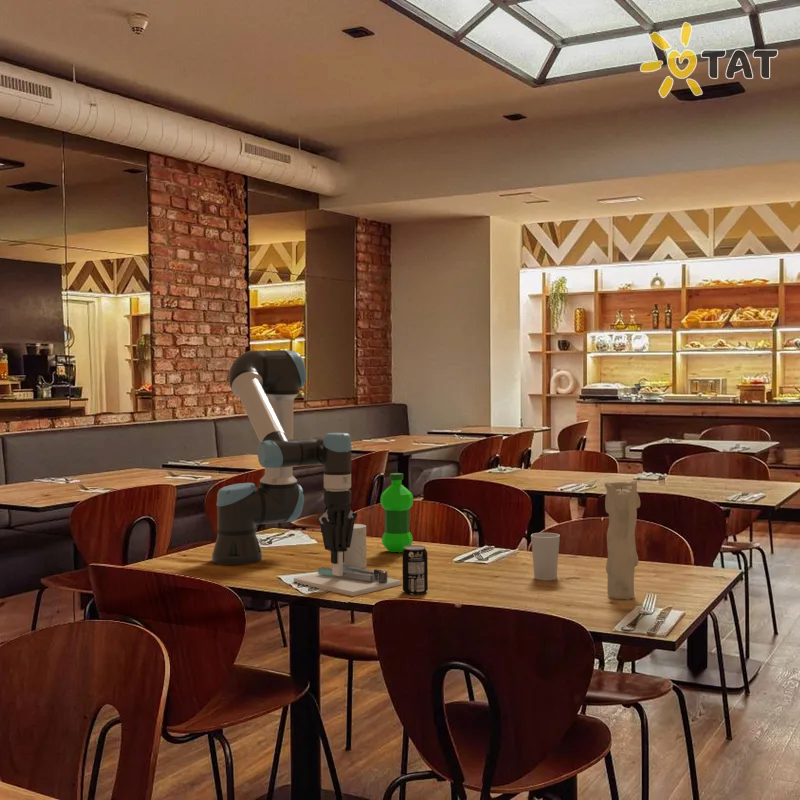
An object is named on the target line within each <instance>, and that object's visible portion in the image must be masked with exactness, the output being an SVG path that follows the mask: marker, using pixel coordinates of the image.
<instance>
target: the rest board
mask: <svg viewBox="0 0 800 800" xmlns="http://www.w3.org/2000/svg"><path fill="white" fill-rule="evenodd" d="M294 582H297V583H296V584H298V583H300V584H299V585H302V584H304V585H303V586H306V585H308V586H307V587H310V586H313V587H312V588H315V587H316V589H321V590H325V591H329V592H333V593H336V594H341V595H346V596H350V597H355V596H356V597H357V596H360V595H364V594H369V593H372V592H377V591H382V590H385V589H389V588H393V587H398V586H401V585H402V579H401V580H400V579H398V578H397V579H396V578H392V577H388V582H387V583H379V581H377V580H374V581H371V582H369V581H362V580H355V579H348V578H341V577H334V576H327V575H320V574H318V572H317V573H313V574H308V575H303V576H298V577H293V583H294Z"/></svg>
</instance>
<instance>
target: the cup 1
mask: <svg viewBox="0 0 800 800" xmlns="http://www.w3.org/2000/svg"><path fill="white" fill-rule="evenodd" d="M346 549H347V551H344V562H343V565H348V566H352V567H357V568H362V569H366V567H367V563H368V562H367V525H365V524H362V523H354V528H353V533H352V539H351V545H350V548H346Z"/></svg>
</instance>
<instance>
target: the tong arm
mask: <svg viewBox="0 0 800 800" xmlns="http://www.w3.org/2000/svg"><path fill="white" fill-rule="evenodd" d="M317 573H318V574H320V575H327V576H334V577H341V578H348V579H355V580H362V581H369V582H371V581H374V574H367V573H359V572H352V571H345V570H343V575H342V576H336V575H332V568H330V567H319V568H318V570H317Z"/></svg>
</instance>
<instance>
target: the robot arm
mask: <svg viewBox="0 0 800 800" xmlns="http://www.w3.org/2000/svg"><path fill="white" fill-rule="evenodd" d="M306 370H307V369H306V365H305V361H304V359H303V357H302V355H300V353H299V352H297V351H295V350H285V349H278V350H277V349H275V350H274V349H273V350H255V349H254V350H248V351H246V352H243V353H242V354H240V355H239V356H237V357H236V358H235V359H234V361H232V364H231V367H230V369H229V371H228V384H229V387H230V389H231V391H232V394H233V395H234V396H235V397H237V398H239V400H240V402H241V404H242V407H243V409H244V411H245V414H246V415H247V417H248V419H249V421H250V423H251V426H252V427H253V431H254V432H255V434H256V437H257V438H258V440H259V444H258V446H257V451H256V455H257V457H258V460H257V461H258V463H259V465H260V466H261V467H262V468H264V475H263V476H262V477H261V478H260V480H259V486H256V484H255V483H254V482H244V483H242V482H241V483H233V484H230V485H226V486H223V487H221V488H219V490H217V494H216V496H217V497H216V504H215V505H216V518H217V519H216V520H217V522H216V523H217V526H216V527H217V537H216V540H215V544H214V548H213V551H212V554H211V558H212V559H211V560H212V563H214V564H217V565H223V566H225V565H227V566H236V565H237V566H238V565H249V564H255V563H259V562H260V561H262V560H263V552H262V550H261V546H260V543H259V540H258V537H257V533H256V529H257V528H256V527H257V525H266V524H267V525H268V524H276V523H277V524H278V523H281V524H284V523H285V524H286V523H288V522H293V521H296V520H297V519H298V518H299V517H300V515H301V514H302V512H303V508H304V503H305V495H304V494H303V493H304V489H303V488H302V486H301V485H300V484H298V479H297V478H296V477H295V476H294V475H293V467H304V466H323V489H324V491H323V503H324V505H325V507H324V511H323V514H322V515H321V516H318V517H317V522H318V523H319V525H320V531H321V536H322V541H323V542H322V543H323V545H324V549H325V550H326V551H329V552H330V563H331V564H332V568H331V569H332V575H336V576H342V575H343V562H344V551H347V549H346V548H350V545H351V539H352V533H353V528H354V524H355V522H356V519H357V518H358V512H353V510H352V509H351V503H352V491H351V490H350V489H351V488H352V448H353V447H352V439H351V438H352V437H351V435H350V434H349V433H347V432H328V433H325V434H324V436H323V437H322V436H316V437H315V436H313V437H311V438H298V439H297V438H295V439H294V408H295V407H294V405H295V403H294V402H295V401H294V400H295V399H296V398H297V396H299V393H300V392H299V391H300V390H299V389H301V388H303V387H304V386H305V384H306V382H307V371H306Z"/></svg>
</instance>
